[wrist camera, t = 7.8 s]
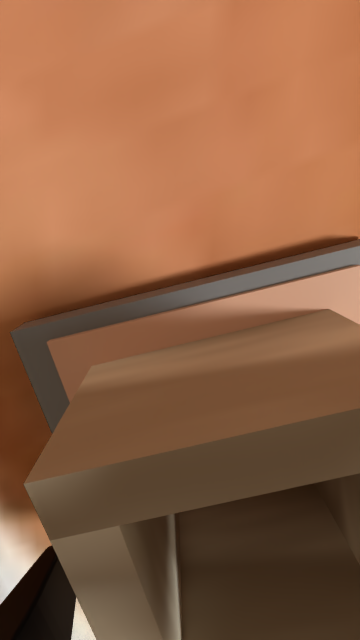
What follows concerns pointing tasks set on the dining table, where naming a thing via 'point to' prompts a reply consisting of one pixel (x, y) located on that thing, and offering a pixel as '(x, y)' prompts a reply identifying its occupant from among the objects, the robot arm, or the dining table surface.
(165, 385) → the beige square hollow block
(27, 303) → the dining table surface
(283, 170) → the dining table surface
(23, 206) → the dining table surface
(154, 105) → the dining table surface
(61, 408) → the stand board
